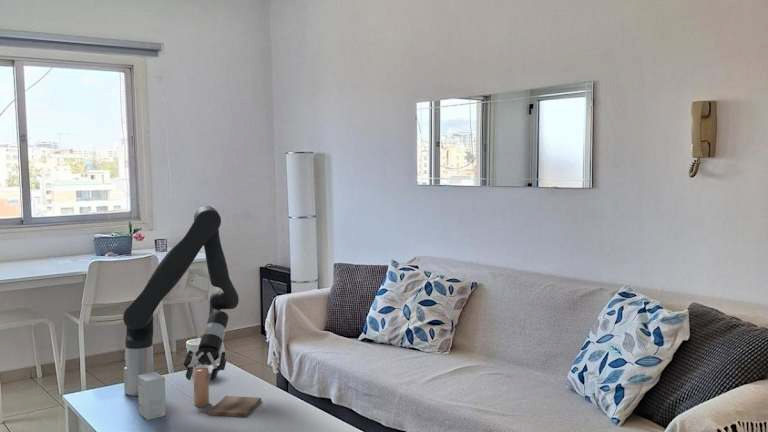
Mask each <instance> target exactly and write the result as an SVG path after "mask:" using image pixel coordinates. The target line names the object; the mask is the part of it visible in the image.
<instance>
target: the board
mask: <svg viewBox="0 0 768 432" xmlns="http://www.w3.org/2000/svg"><path fill="white" fill-rule="evenodd" d="M261 401H262V397H257V396H256V397H255V396H253V397H252V396H237V395H235V396H234V395H225V396H224V397H223V398H221V399H220V400H219V401H218V402H217V403H216V404H215V405H214V406H213V407H211V408H210V409H209V410H208V412H207V413H208V416H210V415H211V416H227V417H241V418H242V417H244V418H247V416H249V414H250V413H251V412H252V411H253V410H254V409H255V408H256V407H257V406H258V405H259V404H260V403H261Z"/></svg>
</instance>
